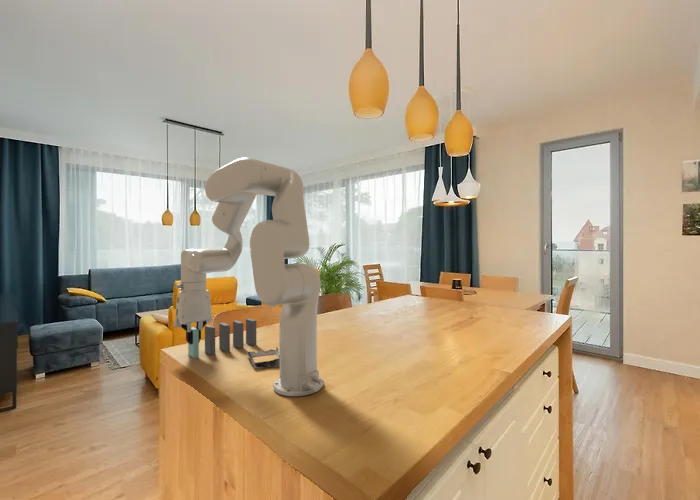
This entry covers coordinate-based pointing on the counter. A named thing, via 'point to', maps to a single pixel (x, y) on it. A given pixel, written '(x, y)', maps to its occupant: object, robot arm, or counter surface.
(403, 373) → the counter surface
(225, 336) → the domino
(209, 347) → the domino
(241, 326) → the domino
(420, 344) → the counter surface
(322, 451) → the counter surface
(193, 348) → the teal domino
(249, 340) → the domino
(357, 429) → the counter surface
